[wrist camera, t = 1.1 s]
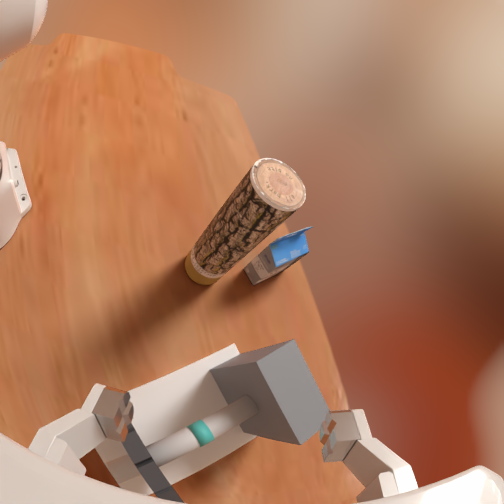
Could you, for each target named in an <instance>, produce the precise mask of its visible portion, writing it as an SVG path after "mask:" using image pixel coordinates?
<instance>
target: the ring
mask: <svg viewBox="0 0 504 504" xmlns="http://www.w3.org/2000/svg"><path fill="white" fill-rule="evenodd" d="M127 429H128V433H127V435H126V438H125V441H124V442H121V443H122V444H123V446H124V448H125V450H126V451H127V453H128V455H129V457H130V458H131V460H132V462H133V463H134V465H135V466H136V468H137V470H138V471H139V472H140V474H141V475H142V477H143V478H144V480H145V481H146V483H147V484H148V485H149V487H150V488H151V490H152V491H153V492H154V493H155V495H156V496H157V497H158V498H160V499H165V500H170V501H175V502H180V503H184V502H183V501H182V499H181V498H180V497H179V495H178V494H177V493H176V491H175V490H174V489H173V487H172V486H171V484H170V483H169V482H168V480H167V479H166V477H165V476H164V475H163V473H162V472H161V470H160V469H159V467H158V466H157V464H156V463H155V461H154V460H153V458H152V456H151V455H150V453H149V452H148V450H147V449H146V447H145V445H144V444H143V442H142V440H141V439H140V437H139V435H138V434H137V432H136V430H135V428H134V427H133V425H132V423H130V424H129V425H127Z"/></svg>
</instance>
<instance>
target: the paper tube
mask: <svg viewBox="0 0 504 504" xmlns="http://www.w3.org/2000/svg"><path fill="white" fill-rule="evenodd" d="M305 197H306V192H305V187H304V185H303V182H302V181H301V179H300V177H299V176H298V175H297V173H296V172H295V171H294V170H293V169H292V168H290V167H289V166H288V165H286V164H285V163H283V162H281V161H279V160H276V159H272V158H264V159H260V160H258V161H257V162H256V163H255V164H254V165H253V166H252V168H251V169H250V170H249V171H248V173H247V174H246V175H245V177H244V178H243V179H242V181H241V182H240V183H239V185H238V186H237V187H236V189H235V190H234V191H233V193H232V194H231V195H230V197H229V198H228V199H227V201H226V202H225V203H224V205H223V206H222V207H221V209H220V210H219V211H218V213H217V214H216V216H215V217H214V218H213V220H212V221H211V222H210V224H209V225H208V227H207V228H206V229H205V231H204V232H203V234H202V235H201V236H200V238H199V239H198V241H197V242H196V244H195V245H194V246H193V248H192V249H191V251H190V252H189V254H188V255H187V257H186V260H185V269H186V272H187V274H188V276H189V277H190V278H191V279H192V280H193V281H194V282H196V283H198V284H201V285H210V284H213V283H215V282H216V281H217V280H219V279H220V278H221V277H222V276H223V275H224V274H226V273H227V272H228V271H229V270H230V269H231V268H232V267H233V266H234V265H236V264H237V263H238V262H239V261H240V260H241V259H242V258H243V257H245V256H246V255H247V254H248V253H249V252H250V251H251V250H252V249H254V248H255V247H256V246H257V245H258V244H259V243H260V242H261V241H263V240H264V239H265V238H266V237H267V236H268V235H269V234H270V233H272V232H273V231H274V230H275V229H276V228H277V227H278V226H279V225H281V224H282V223H283V222H284V221H285V220H286V219H287V218H288V217H289V216H291V215H292V214H293V213H294V212H295V211H296V210H297V209H298V208H300V206H301V205H302V204H303V203H304V201H305Z"/></svg>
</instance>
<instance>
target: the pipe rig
mask: <svg viewBox="0 0 504 504" xmlns="http://www.w3.org/2000/svg"><path fill="white" fill-rule="evenodd" d="M127 392H129V394H130V400H129V401H130V402H131V403H132V404H133V407H134V414H133V419H132V422H131V423H132V425H133V427H134V428H135V430H136V432H137V434H138V435H139V437H140V439H141V440H142V442H143V444H144V445H145V447H146V449H147V450H148V452H149V453H150V455H151V456H152V458H153V460H154V461H155V463H156V464H157V466H158V467H159V469H160V470H161V472H162V473H163V475H164V476H165V477H166V479H167V480H168V482H169V483H170V484H171V485H172V484H174V483H176V482H178V481H180V480H182V479H184V478H186V477H188V476H190V475H192V474H194V473H196V472H198V471H200V470H202V469H203V468H205V467H207V466H209V465H211V464H212V463H214V462H216V461H218V460H220V459H221V458H223V457H225V456H226V455H228V454H230V453H231V452H233V451H235V450H236V449H238V448H240V447H241V446H243V445H244V444H246V443H248V442H249V441H251V440H252V439H254V438H255V437H257V436H260V437H264V438H268V439H273V440H277V441H282V442H287V443H292V444H297V445H302V444H303V443H304V442H306V441H307V440H308V439H309V438H310V437H312V436H313V435H314V434H315V433H316V432H318V431H319V430H320V426H321V424H322V422H323V421H325V420H326V419H325V415H326V413H327V412H328V411H330V410H329V408H328V406H327V404H326V402H325V400H324V398H323V396H322V394H321V392H320V390H319V388H318V386H317V384H316V382H315V380H314V378H313V376H312V374H311V372H310V370H309V368H308V366H307V364H306V362H305V360H304V358H303V356H302V354H301V352H300V350H299V348H298V346H297V344H296V342H295V340H294V339H293V340H289V341H286V342H283V343H279V344H276V345H272V346H268V347H265V348H261V349H257V350H254V351H250V352H246V353H242V354H240V353H239V351H238V349H237V347H236V345H235V343H234V344H232V345H230V346H228V347H226V348H223V349H221V350H219V351H217V352H215V353H213V354H211V355H209V356H207V357H205V358H203V359H201V360H198V361H196V362H194V363H192V364H190V365H188V366H185V367H183V368H181V369H179V370H176V371H174V372H172V373H170V374H167V375H165V376H163V377H161V378H158V379H156V380H154V381H151V382H149V383H147V384H144V385H142V386H139V387H137V388H134V389H132V390H130V391H127ZM95 449H96V451H97V452H98V454H99V456H100V457H101V459H102V461H103V462H104V464H105V465H106V467H107V468H108V470H109V471H110V473H111V475H112V476H113V477H114V479H115V480H116V482H117V483H118V485H119V486H120V487H121V488H122V489H125V490H129V491H132V492H136V493H139V494H143V495H149V494H152V493H154V492H153V491H152V490H151V488H150V487H149V485H148V484H147V483H146V481H145V480H144V478H143V477H142V475H141V474H140V472H139V471H138V470H137V468H136V466H135V465H134V463H133V462H132V460H131V458H130V457H129V455H128V453H127V451H126V450H125V448H124V446H123V444H122V443H121V442H120V441H116V440H113V439H109V438H106V439H105V440H104V441H103V442H101V443H100V444H99V445H97V446H96V447H95Z"/></svg>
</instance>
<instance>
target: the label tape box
mask: <svg viewBox="0 0 504 504" xmlns="http://www.w3.org/2000/svg"><path fill="white" fill-rule="evenodd" d="M310 228H312V227H307V228H305V229H302V230H299V231H296V232H293V233H290V234H288V235H285V236H282V237H280V238H278V239H276V240H275V241H273V242H272V243H271V244H269V246H268V247H266V248H265V249H264V250H263V251H262V252H261V253H260V254H259V255H258V256H256V257H255V258H254V259H253V260H252V261H251V262H250V263H249V264H248V265H247V266H246V267H245V268H244V270H245V272H246V274H247V275H248V277H249V279H250V281H251V283H252V284H253V285H255V284H258V283H260V282H262V281H264V280H266V279H268V278H270V277H272V276H274V275H276V274H278V273H280V272H282V271H284V270H286V269H287V268H288V267H290V266H291V265H292V264H294V263H295V262H297V261H298V260H299V259H301V258H302V257H303V256H305V255H306V254H307V253H308V252H309V250H308V246H307V242H306V237H305V233H304V231H306V230H308V229H310ZM292 234H293V235H292ZM290 235H291V236H290ZM287 236H288V237H287Z"/></svg>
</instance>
